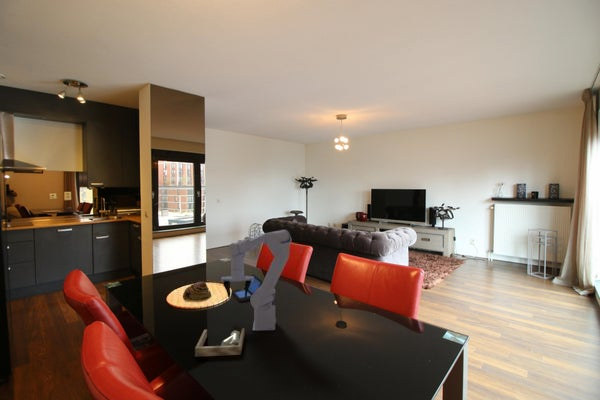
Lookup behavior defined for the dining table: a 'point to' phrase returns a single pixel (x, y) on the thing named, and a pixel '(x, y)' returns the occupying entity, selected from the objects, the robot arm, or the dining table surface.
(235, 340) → the pipe fitting
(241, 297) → the handheld game console
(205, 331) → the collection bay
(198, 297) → the brown swirled mound
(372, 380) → the dining table surface
